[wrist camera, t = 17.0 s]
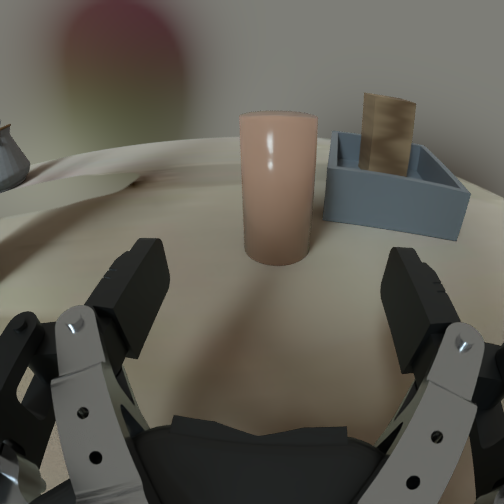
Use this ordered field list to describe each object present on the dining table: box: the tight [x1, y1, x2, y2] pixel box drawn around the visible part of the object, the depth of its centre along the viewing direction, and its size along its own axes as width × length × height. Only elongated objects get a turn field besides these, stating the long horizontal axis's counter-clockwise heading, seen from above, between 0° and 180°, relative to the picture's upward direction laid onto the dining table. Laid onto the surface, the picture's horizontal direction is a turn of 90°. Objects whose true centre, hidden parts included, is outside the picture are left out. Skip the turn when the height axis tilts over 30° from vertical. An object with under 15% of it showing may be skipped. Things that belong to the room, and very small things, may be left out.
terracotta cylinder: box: [239, 111, 318, 266], centre depth 20 cm, size 5×5×10 cm
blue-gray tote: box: [323, 131, 471, 241], centre depth 30 cm, size 14×18×5 cm
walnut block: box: [358, 93, 416, 177], centre depth 31 cm, size 5×5×10 cm
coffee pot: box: [0, 122, 30, 193], centre depth 38 cm, size 21×12×15 cm, turn 47°
